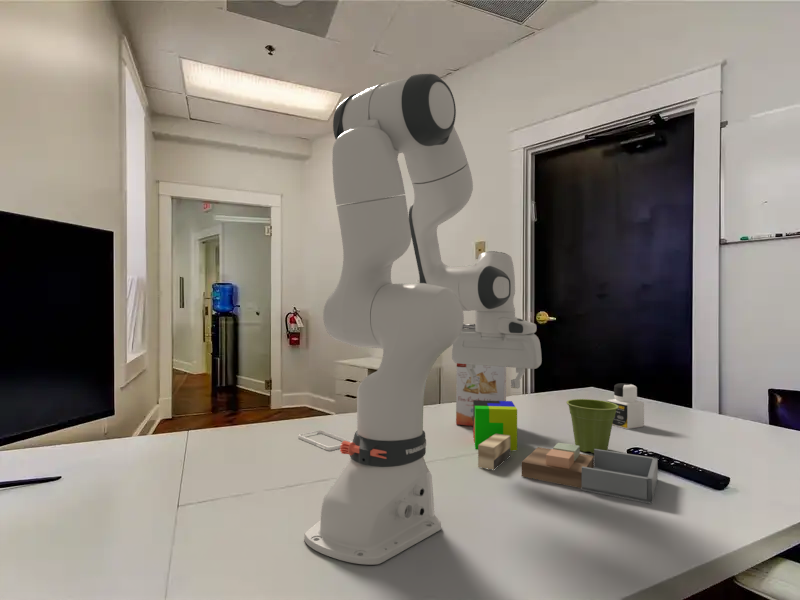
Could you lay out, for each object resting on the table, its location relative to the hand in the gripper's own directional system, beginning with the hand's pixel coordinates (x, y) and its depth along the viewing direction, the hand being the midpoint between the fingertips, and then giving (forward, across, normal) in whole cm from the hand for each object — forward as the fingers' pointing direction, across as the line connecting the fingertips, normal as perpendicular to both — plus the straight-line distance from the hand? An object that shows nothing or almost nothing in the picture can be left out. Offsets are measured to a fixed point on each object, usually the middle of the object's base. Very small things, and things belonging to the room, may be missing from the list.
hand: (495, 385), depth 109 cm
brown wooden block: (+17, +14, 0) cm, 22 cm away
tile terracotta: (+14, +15, -3) cm, 21 cm away
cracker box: (+17, -15, +29) cm, 37 cm away
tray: (+17, +26, 0) cm, 31 cm away
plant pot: (+17, +17, +21) cm, 32 cm away
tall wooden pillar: (+17, 0, 0) cm, 17 cm away
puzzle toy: (+17, -5, +13) cm, 22 cm away
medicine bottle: (+17, +21, +51) cm, 58 cm away
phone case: (+18, -43, -8) cm, 47 cm away
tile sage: (+14, +15, +3) cm, 21 cm away
